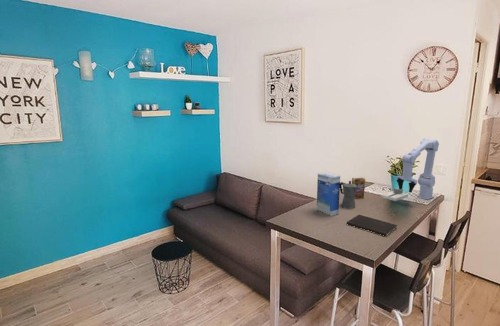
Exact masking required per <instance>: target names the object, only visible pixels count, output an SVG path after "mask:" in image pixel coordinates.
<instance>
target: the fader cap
mask: <svg viewBox="0 0 500 326" xmlns="http://www.w3.org/2000/svg"><path fill="white" fill-rule="evenodd" d="M392 191H393V193H397V194H402V193H404V189H403V188H402V189H401V190H400V189H399V187H395V188H393V190H392Z"/></svg>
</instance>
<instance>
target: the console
mask: <svg viewBox="0 0 500 326" xmlns="http://www.w3.org/2000/svg"><path fill="white" fill-rule="evenodd" d="M393 191H394V190H392V191H389V192H386V193H382V194H381V197H380V198H383V199H386V200H389V201H393V202H398V201H400V200H402V199H406V198H408V193H404V192H403V193H402V194H397V193H393Z"/></svg>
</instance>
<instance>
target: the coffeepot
mask: <svg viewBox="0 0 500 326" xmlns="http://www.w3.org/2000/svg"><path fill="white" fill-rule="evenodd" d="M357 189H358V187H357V185H355V184H352V180H349V181H348V183H346V182H343V181H340V194H342V195H344V196H343V198H342V203H341V206H342V207H343V208H346V209H354V208H356V198H354V195H355V192H356V190H357Z"/></svg>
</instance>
